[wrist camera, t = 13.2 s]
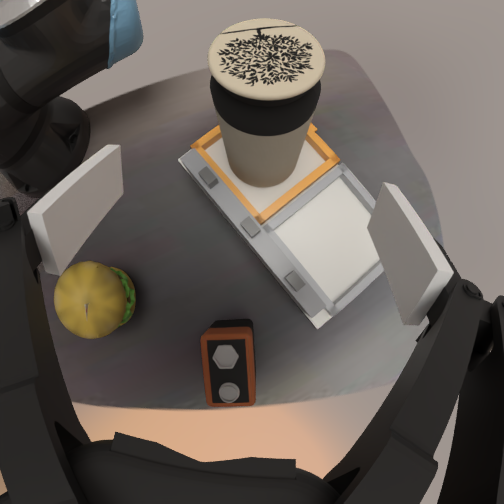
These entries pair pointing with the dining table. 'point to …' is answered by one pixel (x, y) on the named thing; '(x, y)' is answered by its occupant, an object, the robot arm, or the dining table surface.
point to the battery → (229, 363)
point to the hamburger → (94, 299)
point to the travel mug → (265, 96)
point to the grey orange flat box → (298, 222)
